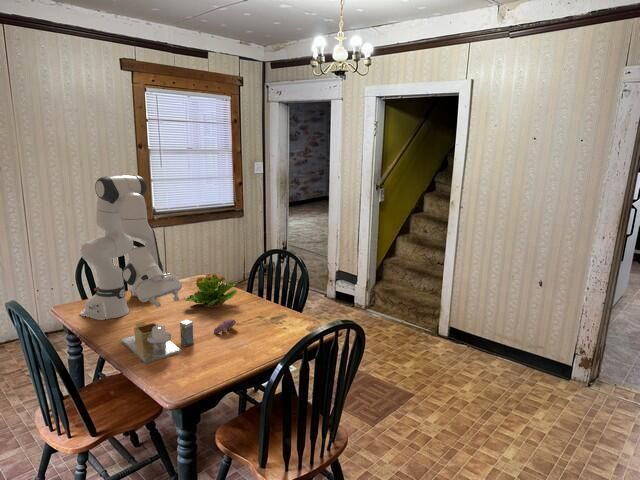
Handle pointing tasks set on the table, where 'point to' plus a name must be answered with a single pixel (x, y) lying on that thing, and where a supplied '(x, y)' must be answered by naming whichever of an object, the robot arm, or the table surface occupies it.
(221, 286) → the potted flower
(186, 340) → the tall grey square post
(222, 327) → the video game controller
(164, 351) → the silver and gold device
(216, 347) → the table surface
